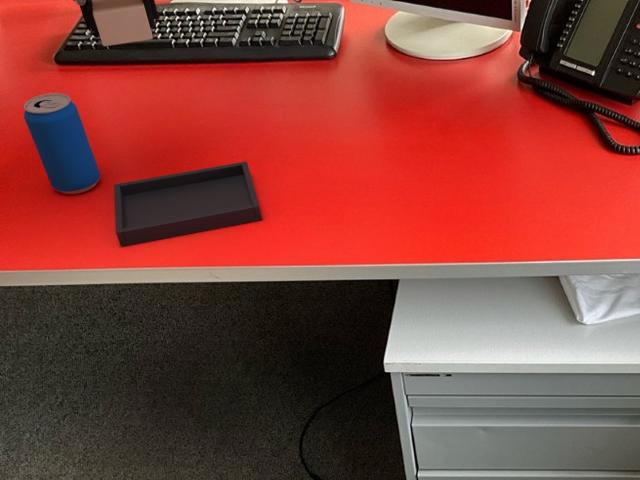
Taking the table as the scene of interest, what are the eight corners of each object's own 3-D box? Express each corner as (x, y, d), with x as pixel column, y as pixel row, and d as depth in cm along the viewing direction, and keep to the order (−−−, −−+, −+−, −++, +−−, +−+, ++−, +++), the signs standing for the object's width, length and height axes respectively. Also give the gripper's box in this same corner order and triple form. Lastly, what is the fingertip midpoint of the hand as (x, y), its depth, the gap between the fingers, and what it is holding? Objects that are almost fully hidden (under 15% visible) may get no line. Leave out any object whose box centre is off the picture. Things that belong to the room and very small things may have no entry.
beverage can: (75, 170, 126) (45, 88, 118) (112, 177, 124) (84, 95, 116) (42, 192, 122) (8, 109, 114) (80, 200, 120) (48, 116, 112)
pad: (103, 46, 111) (92, 14, 108) (101, 29, 115) (91, -3, 112) (153, 39, 112) (143, 6, 110) (149, 22, 117) (140, -9, 114)
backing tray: (120, 246, 111) (115, 232, 110) (118, 198, 120) (113, 184, 119) (262, 220, 116) (259, 205, 114) (250, 174, 124) (246, 161, 123)
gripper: (-6, -113, 97) (53, 51, 109) (158, -131, 101) (198, 29, 113) (-3, -129, 102) (53, 29, 114) (153, -145, 106) (191, 10, 118)
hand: (125, 28), depth 113 cm, fingers closed on pad, 6 cm apart
